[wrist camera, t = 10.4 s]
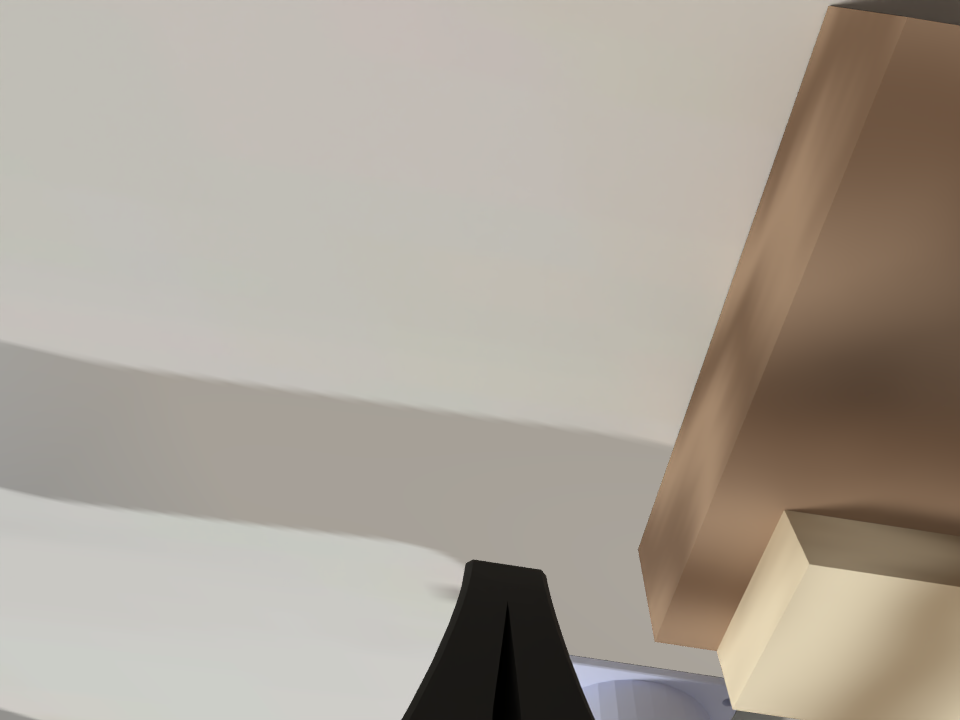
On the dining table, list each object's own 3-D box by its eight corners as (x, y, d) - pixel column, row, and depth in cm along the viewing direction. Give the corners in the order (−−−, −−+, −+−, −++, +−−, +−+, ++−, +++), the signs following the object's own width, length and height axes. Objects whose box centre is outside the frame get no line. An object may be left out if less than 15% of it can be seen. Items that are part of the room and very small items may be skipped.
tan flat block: (957, 597, 26) (1024, 696, 22) (638, 549, 26) (655, 641, 22) (1318, 85, 17) (1524, 116, 13) (828, 5, 17) (907, 17, 13)
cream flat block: (1103, 558, 19) (1160, 617, 17) (993, 691, 22) (1032, 753, 20) (784, 509, 19) (809, 564, 17) (716, 651, 22) (732, 709, 20)
